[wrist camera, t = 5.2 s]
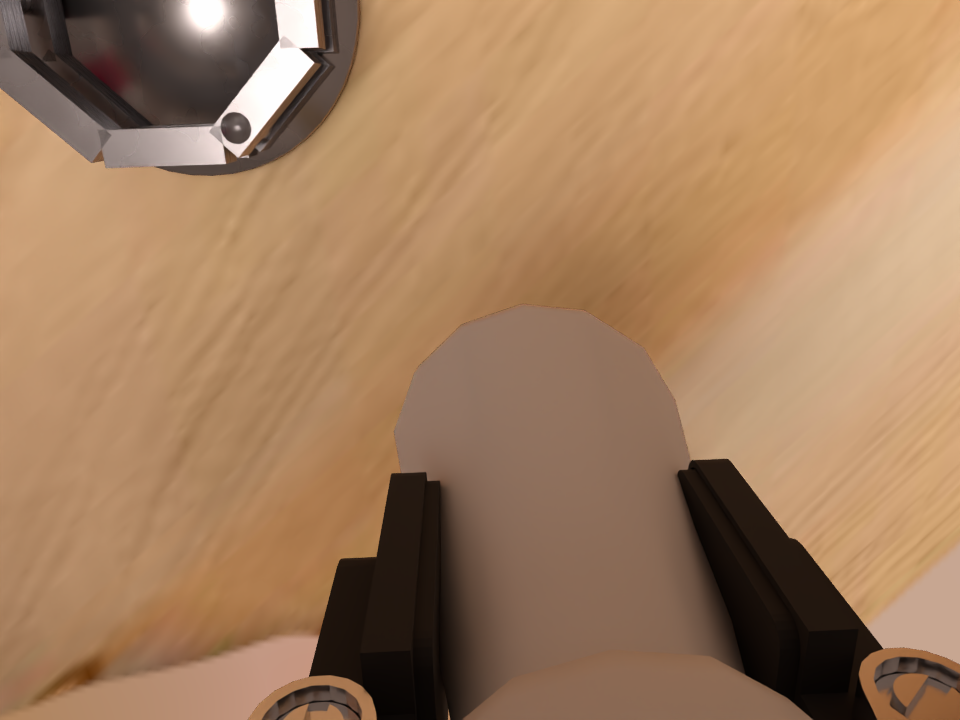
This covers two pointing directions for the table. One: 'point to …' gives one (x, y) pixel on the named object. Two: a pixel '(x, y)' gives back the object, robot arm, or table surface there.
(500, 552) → the salt shaker
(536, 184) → the table surface
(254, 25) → the collar stand
